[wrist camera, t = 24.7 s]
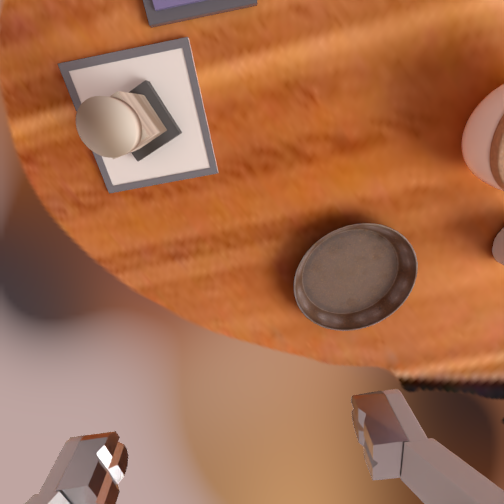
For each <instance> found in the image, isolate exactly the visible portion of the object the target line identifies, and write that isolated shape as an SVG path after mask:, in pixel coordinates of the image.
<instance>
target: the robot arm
mask: <svg viewBox="0 0 504 504" xmlns="http://www.w3.org/2000/svg"><path fill="white" fill-rule="evenodd" d="M351 403H352V406H353V408H354V409H353V411H352V420H353V425H354V428H355V432H356V435H357V438H358V441H359V443H360V444H361V445H363V446H364V458H365V461H366V464H367V466H368V469H369V471H370V474H371V477H372V480H381V479H390V478H400V477H401V480H402V481H403V482H404V483H405V484H406V485H407V486H408V487H409V488H410V489H411V490H412V491H413V492H414V493H415V494H416V495H417V496H418V497H419V498H420V500H422V502H423V503H424V504H504V491H503V490H502V489H501V488H499V487H498V486H496V485H495V484H494V483H492V482H491V481H490V480H488V479H487V478H486V477H484V476H483V475H482V474H480V473H479V472H478V471H476V470H475V469H474V468H472V467H471V466H470V465H468V464H467V463H465V462H464V461H463V460H461V459H460V458H459V457H457V456H456V455H455V454H453V453H452V452H451V451H449V450H448V449H447V448H445V447H444V446H442V445H441V444H440V443H438V442H437V441H436V440H434V439H433V438H430V439H428V438H427V437H426V435H425V433H424V431H423V430H422V428H421V426H420V424H419V423H418V421H417V419H416V418H415V416H414V414H413V412H412V410H411V409H410V407H409V405H408V404H407V402H406V400H405V398H404V397H403V395H402V393H401V392H400V391H399V390H398V389H392V390H386V391H377V392H371V393H365V394H359V395H353V396H352V398H351ZM118 440H119V436H118V434H117V433H116V431H115V432H108V433H101V434H93V435H85V436H78V437H71V438H70V439H69V440H68V441H67V442H66V443H65V445H64V447H63V449H62V450H61V452H60V454H59V456H58V458H57V460H56V462H55V464H54V466H53V468H52V469H51V471H50V473H49V475H48V477H47V479H46V481H45V483H44V484H43V486H42V488H41V490H40V492H39V494H35V495H33V496H32V497H31V498H30V499H29V500H28V501H27V502H26V503H25V504H116V501H117V498H118V495H119V487H118V483H119V482H120V481H121V479H122V478H123V477H124V476H125V472H126V469H127V465H128V453H127V449H126V447H125V445H124V444H122V443H120V442H118Z"/></svg>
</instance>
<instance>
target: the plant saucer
mask: <svg viewBox="0 0 504 504" xmlns="http://www.w3.org/2000/svg"><path fill="white" fill-rule="evenodd" d="M417 268H418V267H417V258H416V254H415V251H414V249H413V247H412V246H411V244H410V242H409V241H408V240H407V239H406V238H405V237H404V236H403V235H402V234H400V233H399V232H398V231H396V230H394V229H392V228H390V227H387V226H384V225H380V224H374V223H359V224H353V225H348V226H345V227H342V228H339V229H337V230H334V231H332V232H330V233H328V234H327V235H325V236H324V237H322V238H321V239H319V240H318V241H317V242H316V243H315V244H313V245H312V246H311V248H310V249H309V250H308V251H307V252H306V254H305V255H304V256H303V258H302V260H301V261H300V263H299V265H298V268H297V270H296V273H295V277H294V296H295V299H296V302H297V305H298V307H299V308H300V310H301V311H302V313H303V314H304V315H305V316H306V317H307V318H308V319H309V320H311V321H312V322H314V323H315V324H317V325H319V326H321V327H324V328H327V329H332V330H340V331H349V330H357V329H362V328H366V327H369V326H371V325H374V324H376V323H378V322H380V321H382V320H384V319H386V318H387V317H389V316H390V315H391V314H393V313H394V312H395V311H396V310H397V309H398V308H399V307H400V306H401V305H402V304H403V303H404V302H405V300H406V299H407V298H408V296H409V294H410V293H411V291H412V289H413V286H414V284H415V281H416V277H417Z"/></svg>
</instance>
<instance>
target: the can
mask: <svg viewBox="0 0 504 504" xmlns="http://www.w3.org/2000/svg"><path fill="white" fill-rule="evenodd" d="M492 253H493V257H494V258H495V260H496V261H497V262H499V263H501V264H503V265H504V228H502V230H501V231H500V232H499V233H498V234H497V236H496V238H495V239H494V243H493V247H492Z"/></svg>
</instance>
